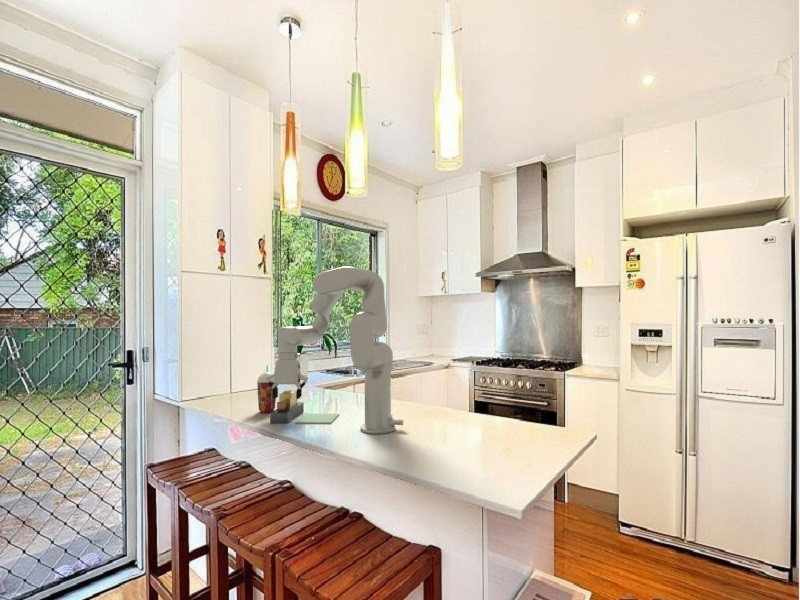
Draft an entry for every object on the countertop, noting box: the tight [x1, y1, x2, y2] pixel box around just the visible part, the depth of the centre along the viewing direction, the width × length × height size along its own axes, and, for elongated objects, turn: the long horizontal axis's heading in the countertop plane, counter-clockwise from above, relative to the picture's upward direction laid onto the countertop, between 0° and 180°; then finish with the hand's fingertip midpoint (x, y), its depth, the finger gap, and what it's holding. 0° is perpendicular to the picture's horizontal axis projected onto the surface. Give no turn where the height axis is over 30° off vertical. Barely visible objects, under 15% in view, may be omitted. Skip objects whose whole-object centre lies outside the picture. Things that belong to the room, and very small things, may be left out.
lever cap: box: [278, 389, 297, 409], centre depth 167 cm, size 4×7×7 cm, turn 176°
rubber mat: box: [295, 413, 340, 425], centre depth 163 cm, size 14×14×1 cm
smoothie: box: [256, 365, 277, 414], centre depth 177 cm, size 8×8×20 cm
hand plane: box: [269, 390, 305, 425], centre depth 167 cm, size 7×20×9 cm, turn 176°
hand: (287, 398), depth 167 cm, fingers open, 9 cm apart
